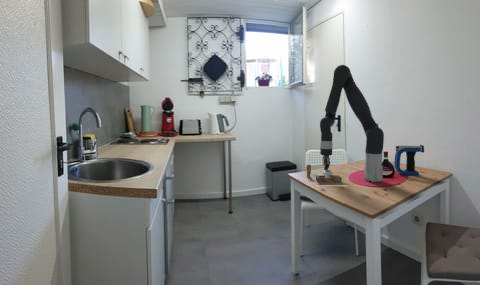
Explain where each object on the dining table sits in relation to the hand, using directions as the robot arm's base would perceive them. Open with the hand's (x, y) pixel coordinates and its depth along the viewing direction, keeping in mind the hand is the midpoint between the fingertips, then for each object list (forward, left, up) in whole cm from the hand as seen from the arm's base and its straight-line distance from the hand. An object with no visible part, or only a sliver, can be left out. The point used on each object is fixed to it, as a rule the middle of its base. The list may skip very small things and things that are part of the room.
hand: (325, 173), depth 176 cm
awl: (+12, +5, -2) cm, 13 cm away
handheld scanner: (-54, -4, -2) cm, 54 cm away
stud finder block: (0, +6, -1) cm, 6 cm away
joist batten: (+2, +15, -2) cm, 15 cm away
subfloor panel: (+2, +7, -2) cm, 8 cm away
